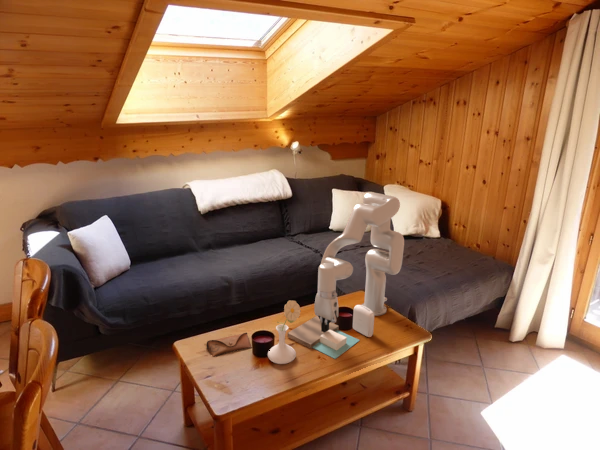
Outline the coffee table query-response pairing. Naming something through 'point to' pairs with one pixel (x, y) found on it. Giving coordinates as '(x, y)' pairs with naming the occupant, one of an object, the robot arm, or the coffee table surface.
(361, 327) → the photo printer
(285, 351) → the flower in vase
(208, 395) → the coffee table surface
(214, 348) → the sunglasses case
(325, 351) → the mat
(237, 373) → the coffee table surface
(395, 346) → the coffee table surface
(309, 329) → the riser
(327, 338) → the white flat block
